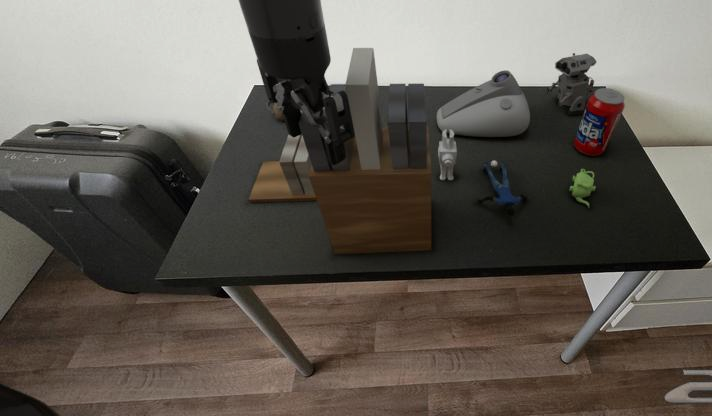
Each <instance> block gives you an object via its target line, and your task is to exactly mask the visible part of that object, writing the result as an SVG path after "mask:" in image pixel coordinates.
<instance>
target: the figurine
mask: <svg viewBox="0 0 712 416" xmlns="http://www.w3.org/2000/svg"><path fill="white" fill-rule="evenodd" d="M596 64H597V60H596V59H595V57H594V56H593V55H590V54H588V53H582V54H576V52H573V53H572V55H571V56H566V57H561V59H559V60H557V61H556V62H554V68H555V70H557V71H559V72H560V73H561V74H559V75H558V77H557V79H558V80H557V81H556V82H552V83H551V85H550V86H549V87H547V88H546V90H547V93H546V94H547V95H548V93H549V92H553V89H555V88H556V86H557V88H558V89H557V94H556V96H555V99H556V100H555V102H554V104H557V103H558V105H557V106H559V107H562V106H568V107H569V109H568V111H567V114H568V115H569V116H570V117H572V116H575V115H577V116H578V115H582V114H584V112H585V108H586V107H585V106H586V99H587V97H588V95H589V93H593V90H594V84H595V79H593V78H592V76H591V77H590V76H588V75H587V74H586V73H588V71H589V70H590V69H591V67H594V66H595V65H596Z"/></svg>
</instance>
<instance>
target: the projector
mask: <svg viewBox="0 0 712 416" xmlns="http://www.w3.org/2000/svg"><path fill="white" fill-rule="evenodd" d="M530 122H531V112H530V108H529V103H528V100H527V98H526V96H525V94H524V92H523V91H522V89H521V87H520V85H519V83H518V81H517V79H516V78H515V76H514V75H513V73H512V72H511V71H510V70H505V69H504V70H500V71H497V72H496V73H495V74H493V75H492V77H491V79H490V80H487V81H485V82H483V83H481V84H479V85H477V86H475V87H473V88H471V89H469V90H467V91H465V92H464V93H462V94H459V96H457V97H455V98H453V99H452V100H450V101H449V102H447V103H445V104H444V105H442V106H441V107H440V108H439V109H438V110H437V113H436V123H437V126H438V128H439V130H440V131H441V132H443V131H444V130H445V129H447V131H446V134H449V133H450V129H451V130H453V132H454V135H456V136H465V137H476V138H505V137H507V138H508V137H514V136H518V135H521V134H522V133H523V134H524V132H525V131H526V130H527V129H528V127H529V125H530Z"/></svg>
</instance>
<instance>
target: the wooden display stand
mask: <svg viewBox="0 0 712 416" xmlns="http://www.w3.org/2000/svg"><path fill="white" fill-rule="evenodd" d="M311 166H312V164H311V161H310V158H309V155H308V151H307V148H306V145H305V142H304V139H303V136H302V134H301V135H299V136H297V137H292V136H290V135H289V134H288V135H287V138H286V141H285V143H284V147H283V149H282V152H281V155H280V158H279V160H273V161H272V160H269V161H262V164H261V166H260V168H259V171H258V174H257V176H256V179H255V181H254V184H253V186H252V189H251V191H250V194H249V197H248V199H247V200H248V202H249V203H250V204H253V203H282V202H284V203H285V202H313V201H314V202H315V201H316V202H317V199H316V196H315V193H314V190H313V187H312V184H311V182H310V179H309V173H310V170H311Z"/></svg>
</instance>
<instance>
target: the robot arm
mask: <svg viewBox="0 0 712 416" xmlns="http://www.w3.org/2000/svg"><path fill="white" fill-rule="evenodd" d="M238 3H239V6H240V9H241V12H242V15H243V19H244V21H245V25H246V28H247V31H248V35H249V38H250V40H251V44H252V47H253V50H254V53H255V56H256V64H257V67H258V70H259V74H260V77H261V80H262V84H263V87H264V90H265V93H266V97H267V100H268V101H270V102H271V104H275V103H277V108H278V110H279V111H280V112H281V113H282V114H283V117H284V124H285V126H286V130H287V134H288V135H290V136H292V137H297V136H299V135H301V134H302V133H301V130H300V127H299V121H300V118H301V111H303V112H304V114H305V115H306V117H307V119H308V121H309V122H310V124H311V125H312V126H313V127H317V128H318V130H319V131H320V133H321V135H322V137H323V138H324V140H325V141H324V143H325V148H326V152H327V157H328V161H329V163H331V164H332V165H336V164H338V163H340V162H341V161H343V160H344V159H345V158H346V153H345V147H344V142H346V141H347V140H349V139H352V138H353V137H355V132H354V127H353V122H352V117H351V111H350V106H349V101H348V96H347V94H346V93H345V92H344V91H343V90H342V91H340V92H337V93H335V92H332V91H330V85H329V84H328V82H327V80H326V77H325V74H326V72H327V70H328V68H329V67H330V64H331V60H332V58H331V57H332V56H331V52H330V47H329V39H328V34H327V29H326V24H325V18H324V13H323V7H322V6H323V5H322V0H238ZM275 86H276V89H277V90H275V91H274V87H275ZM300 110H301V111H300ZM321 110H323V111H325V112H326V115H324V116H322V117H317V116H315V113H317V112H319V111H321ZM326 121H328V124H329V128H330V132H329V131H328V130H327V128H326V126H325V122H326ZM342 125H344V128H345V129H344V128H343V126H342ZM0 416H62V415H61V414H60V413H58V412H57V411H56V410H55V409H53V408H52V407H51V406H50V405H48V404H47V403H45V402H44V401H42V400H40V399H38V398H36V397H34V396H31V395H30V394H27V393H25V392H22V391H20V390H17V389H15V388H12V387H10V386H7V385H5V384H3V383H0Z"/></svg>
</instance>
